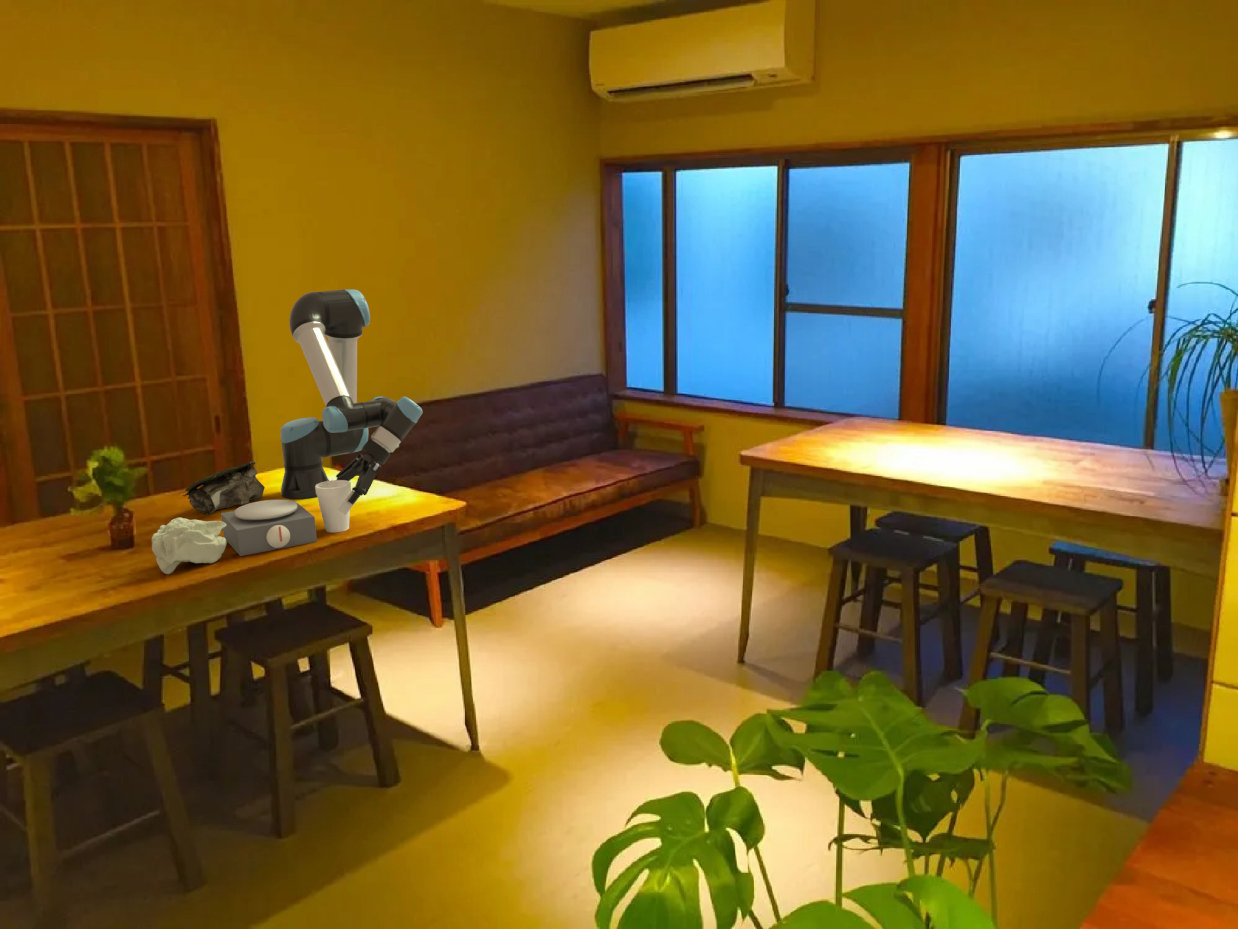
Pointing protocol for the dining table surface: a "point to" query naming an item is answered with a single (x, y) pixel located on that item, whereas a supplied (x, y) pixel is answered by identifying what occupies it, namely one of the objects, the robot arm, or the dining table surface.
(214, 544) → the wavy plaster lump
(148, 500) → the dining table surface
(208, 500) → the weathered wood log
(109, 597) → the dining table surface
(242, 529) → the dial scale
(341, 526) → the foam cup
